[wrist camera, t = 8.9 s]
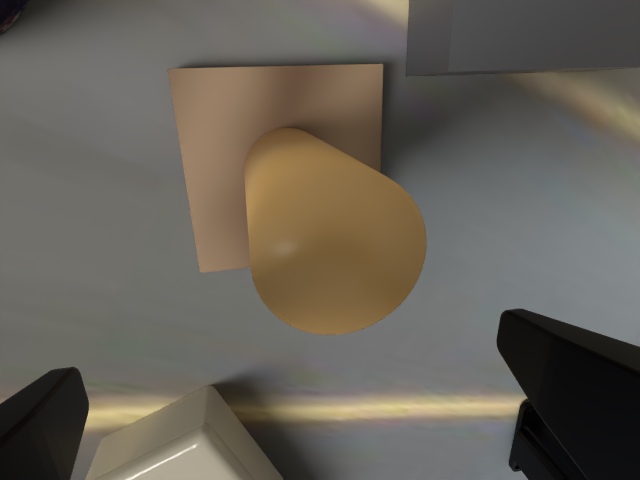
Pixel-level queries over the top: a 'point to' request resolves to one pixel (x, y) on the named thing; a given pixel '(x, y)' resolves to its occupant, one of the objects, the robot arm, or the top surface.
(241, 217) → the tan square tile
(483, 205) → the top surface
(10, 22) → the storage jar
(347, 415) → the top surface
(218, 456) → the electrical outlet
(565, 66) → the socket block
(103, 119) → the top surface
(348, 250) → the amber plug
